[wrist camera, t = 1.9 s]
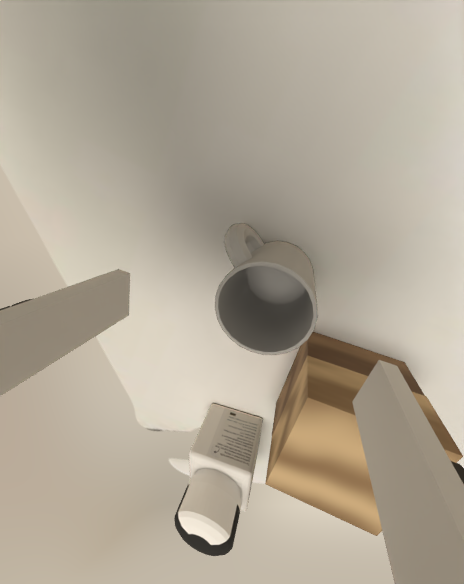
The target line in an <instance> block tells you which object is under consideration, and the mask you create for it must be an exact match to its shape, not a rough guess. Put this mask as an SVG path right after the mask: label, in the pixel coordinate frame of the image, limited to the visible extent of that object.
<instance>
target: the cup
mask: <svg viewBox="0 0 464 584" xmlns="http://www.w3.org/2000/svg"><path fill="white" fill-rule="evenodd" d="M224 243H225V248H226V252H227V254H228V256H229V259H230V261H231V263H232V264H233V266H234V269H233V270H232V271H231V272H230V273H229V274H227V275H226V277H225V278H224V279H223V281H222V282H221V283H220V285H219V287H218V290H217V293H216V296H215V311H216V316H217V320H218V322H219V324H220V326H221V328H222V330H223V331H224V332H225V333H226V334H227V336H228V337H229V338H230V339H231V340H232V341H234V342H235V343H236V344H237V345H239V346H240V347H242V348H244V349H246V350H248V351H250V352H254V353H258V354H262V355H278V354H283V353H288V352H290V351H292V350H294V349H296V348H298V347H300V346H301V345H302V344H303V343H304V342H305V341H307V340H308V338H309V337H310V335H311V334H312V332H313V331H314V329H315V325H316V321H317V317H318V315H317V300H316V291H315V281H314V272H313V268H312V265H311V262H310V260H309V258H308V257H307V256H306V254H305V253H304V252H303V251H302V250H301V249H299V248H298V247H297V246H295V245H293V244H290V243H288V242H282V241H274V242H268V243H265V244H264V243H263V242H262V240H261V238H260V237H259V235H258V234H257V233H256V232H255V231H254V230H253V229H252V228H251V227H250V226H248V225H247V224H244V223H240V224H234V225H232V226H231V227H230V228H229V230H228V232H227V233H226V235H225V240H224Z"/></svg>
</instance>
